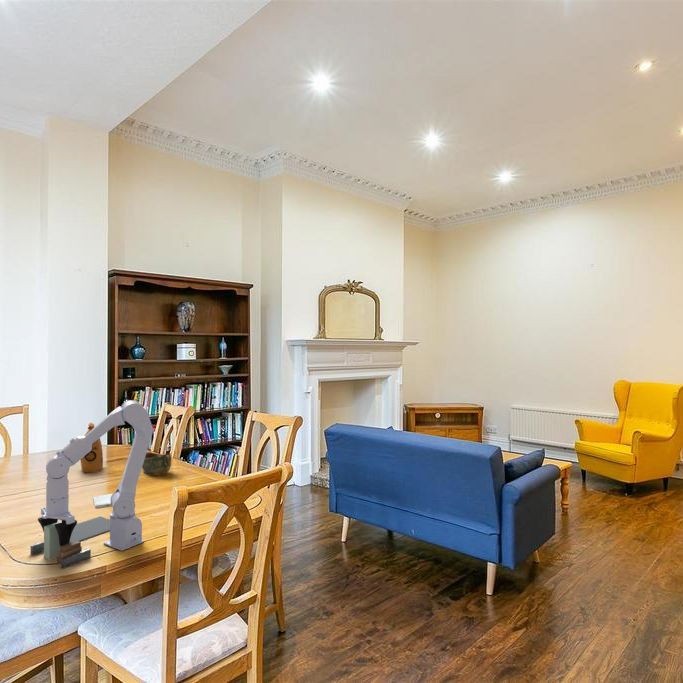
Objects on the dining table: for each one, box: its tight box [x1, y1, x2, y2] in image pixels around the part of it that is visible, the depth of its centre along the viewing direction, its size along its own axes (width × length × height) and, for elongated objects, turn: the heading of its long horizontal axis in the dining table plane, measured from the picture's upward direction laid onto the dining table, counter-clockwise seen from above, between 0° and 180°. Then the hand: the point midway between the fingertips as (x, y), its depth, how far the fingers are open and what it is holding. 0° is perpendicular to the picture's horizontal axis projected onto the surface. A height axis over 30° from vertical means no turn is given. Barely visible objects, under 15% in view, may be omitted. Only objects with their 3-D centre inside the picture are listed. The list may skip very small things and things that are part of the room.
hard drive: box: [92, 493, 113, 509], centre depth 192 cm, size 2×8×12 cm
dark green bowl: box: [142, 451, 172, 477], centre depth 233 cm, size 13×20×10 cm, turn 25°
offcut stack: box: [56, 541, 83, 566], centre depth 141 cm, size 2×6×5 cm, turn 148°
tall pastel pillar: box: [43, 520, 70, 561], centre depth 145 cm, size 3×6×9 cm, turn 148°
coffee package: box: [80, 422, 104, 474], centre depth 238 cm, size 10×12×22 cm
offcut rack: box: [30, 540, 92, 570], centre depth 144 cm, size 17×8×2 cm, turn 58°
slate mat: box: [70, 516, 110, 543], centre depth 164 cm, size 14×18×1 cm
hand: (57, 543), depth 145 cm, fingers open, 7 cm apart
